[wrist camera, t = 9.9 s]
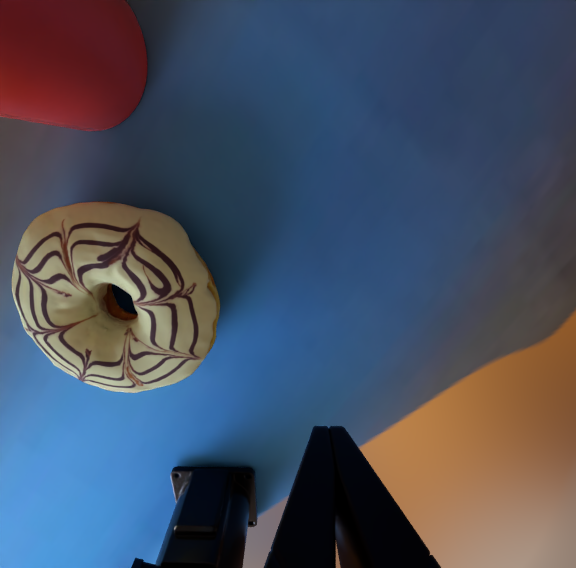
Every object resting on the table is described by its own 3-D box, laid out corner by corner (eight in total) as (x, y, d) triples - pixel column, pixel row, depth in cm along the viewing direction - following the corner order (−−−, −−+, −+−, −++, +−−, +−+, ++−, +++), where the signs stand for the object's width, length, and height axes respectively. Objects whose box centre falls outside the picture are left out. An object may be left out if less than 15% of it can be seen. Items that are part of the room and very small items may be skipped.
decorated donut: (189, 174, 16) (159, 177, 12) (248, 344, 20) (238, 383, 16) (15, 222, 17) (-58, 237, 13) (102, 375, 21) (63, 418, 17)
